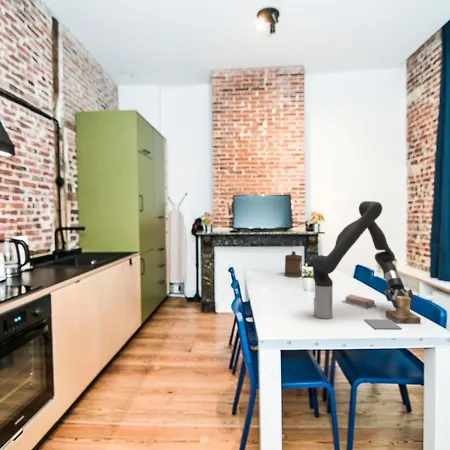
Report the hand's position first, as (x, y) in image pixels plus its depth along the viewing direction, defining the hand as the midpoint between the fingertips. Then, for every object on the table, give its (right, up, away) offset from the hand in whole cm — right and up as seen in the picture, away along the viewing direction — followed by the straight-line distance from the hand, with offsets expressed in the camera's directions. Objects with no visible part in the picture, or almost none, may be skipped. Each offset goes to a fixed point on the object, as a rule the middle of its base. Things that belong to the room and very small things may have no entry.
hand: (404, 307), depth 172 cm
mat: (-14, -7, -6) cm, 17 cm away
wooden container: (-33, -2, +122) cm, 126 cm away
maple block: (0, -4, +2) cm, 4 cm away
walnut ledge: (0, -7, +2) cm, 7 cm away
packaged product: (-11, -6, +31) cm, 34 cm away
